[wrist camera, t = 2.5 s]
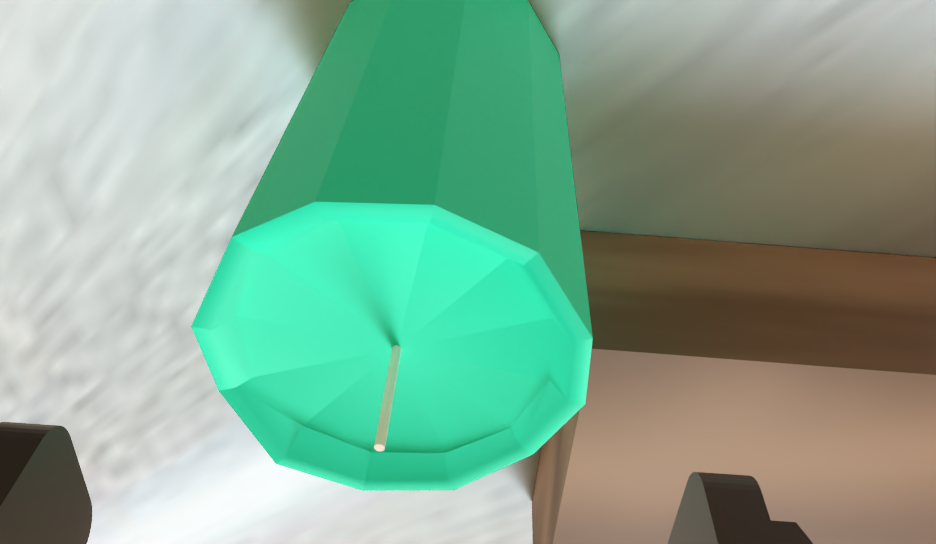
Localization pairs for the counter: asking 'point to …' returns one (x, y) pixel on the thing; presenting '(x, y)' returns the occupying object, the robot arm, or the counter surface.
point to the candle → (411, 256)
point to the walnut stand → (749, 391)
